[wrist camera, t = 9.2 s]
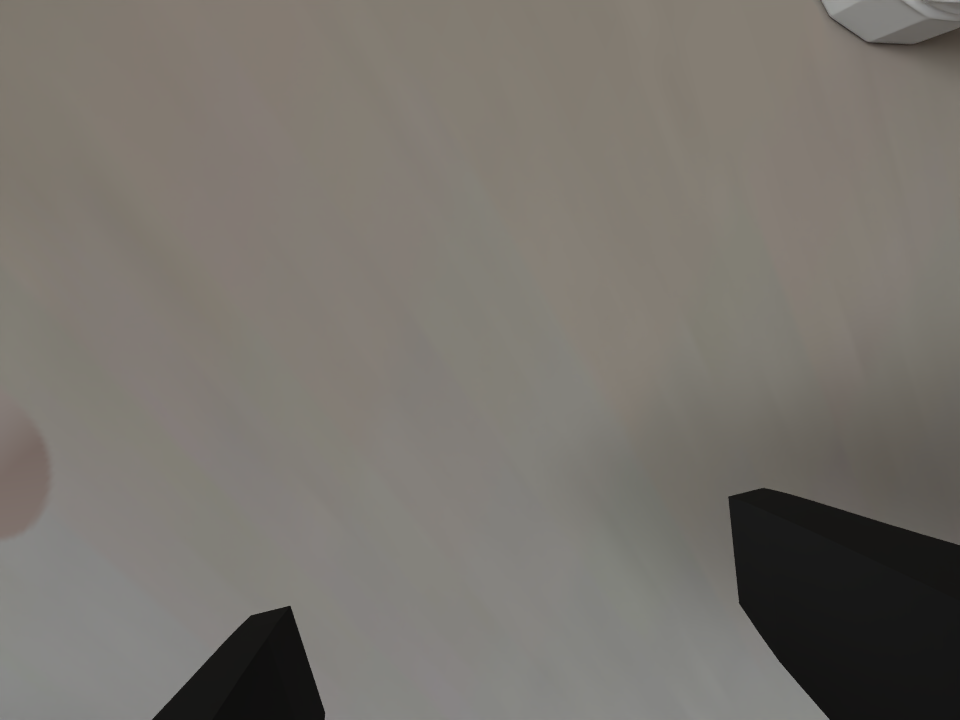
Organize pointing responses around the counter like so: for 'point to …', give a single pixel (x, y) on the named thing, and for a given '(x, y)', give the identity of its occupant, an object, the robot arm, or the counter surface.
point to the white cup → (895, 18)
